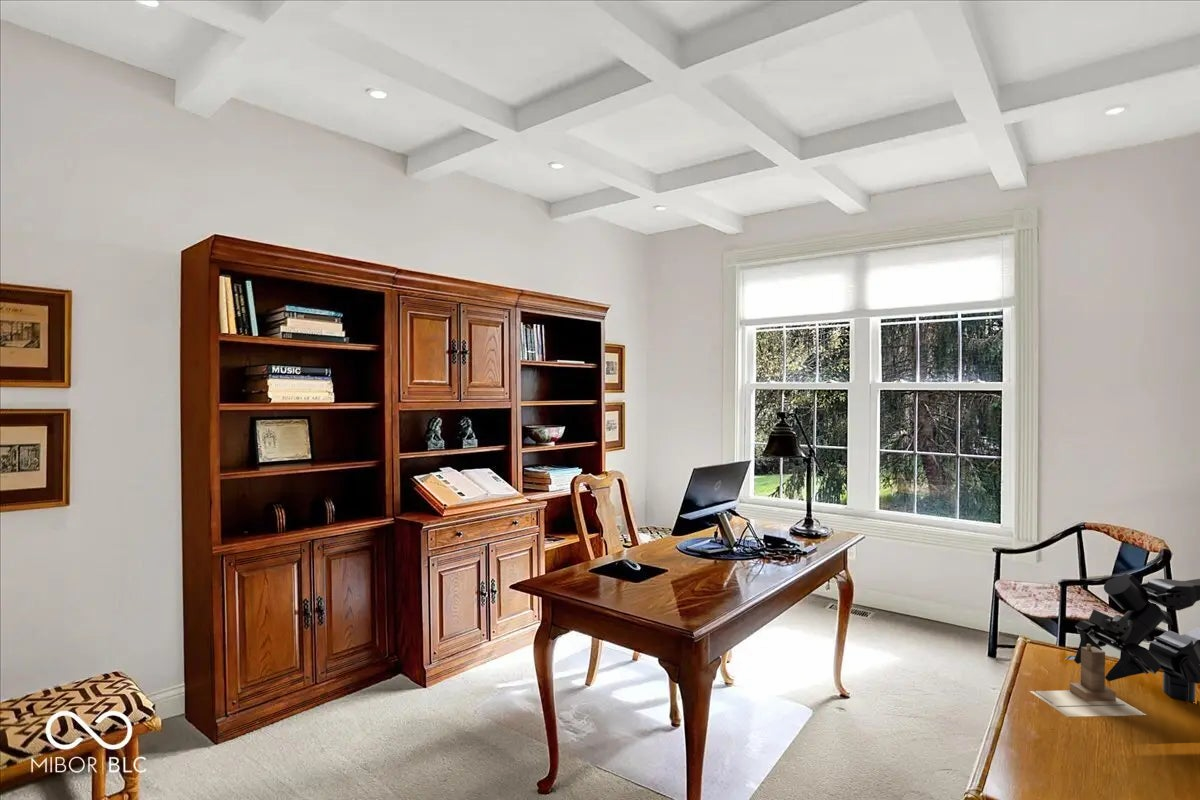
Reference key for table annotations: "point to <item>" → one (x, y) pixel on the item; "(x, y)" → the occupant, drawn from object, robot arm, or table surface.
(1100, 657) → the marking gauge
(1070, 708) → the birch board
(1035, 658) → the table surface
